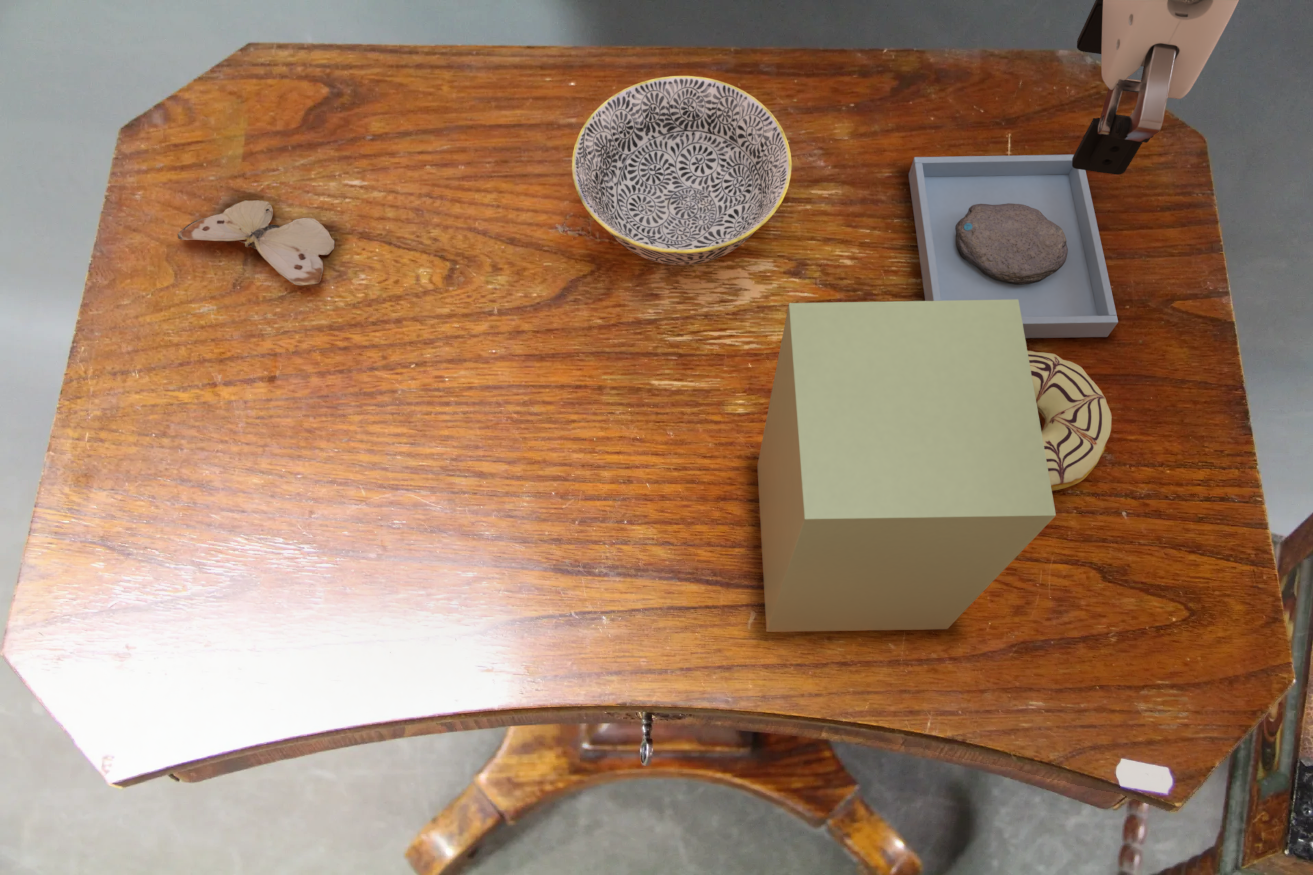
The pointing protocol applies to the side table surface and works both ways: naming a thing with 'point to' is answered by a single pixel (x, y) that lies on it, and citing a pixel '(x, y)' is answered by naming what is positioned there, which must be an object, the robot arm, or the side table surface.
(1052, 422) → the decorated donut
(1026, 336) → the tray
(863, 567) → the stand
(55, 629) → the side table surface
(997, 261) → the stone
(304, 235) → the butterfly
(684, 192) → the bowl
